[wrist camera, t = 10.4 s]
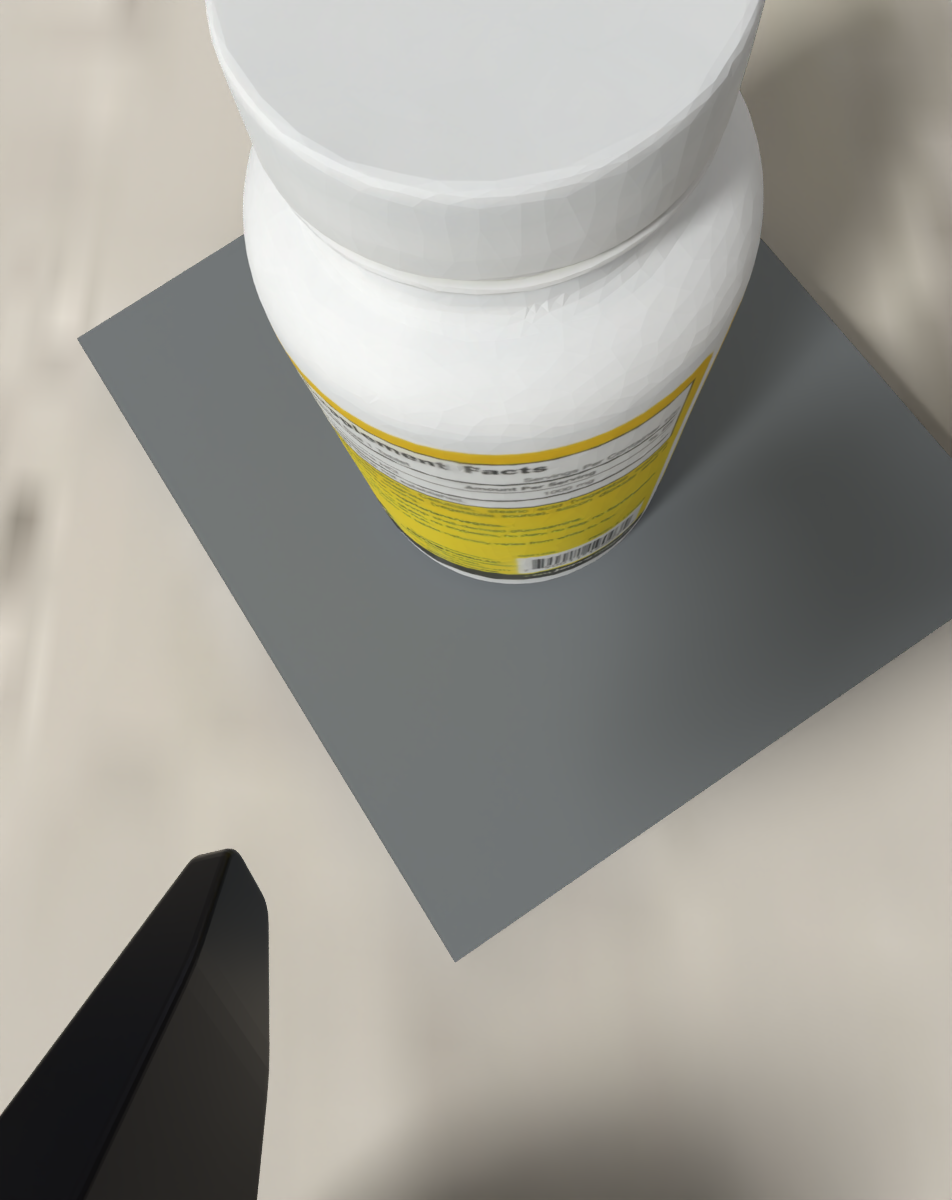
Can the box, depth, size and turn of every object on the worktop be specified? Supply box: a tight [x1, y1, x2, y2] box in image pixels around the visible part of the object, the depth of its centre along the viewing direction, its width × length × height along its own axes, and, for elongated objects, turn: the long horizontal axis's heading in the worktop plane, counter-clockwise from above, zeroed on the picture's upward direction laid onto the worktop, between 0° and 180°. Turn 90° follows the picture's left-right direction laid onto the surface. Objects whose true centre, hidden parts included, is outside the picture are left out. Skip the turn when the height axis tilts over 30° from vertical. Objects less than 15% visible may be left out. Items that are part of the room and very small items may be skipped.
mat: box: [77, 235, 952, 962], centre depth 18 cm, size 16×14×1 cm
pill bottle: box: [205, 0, 765, 584], centre depth 12 cm, size 6×6×11 cm
